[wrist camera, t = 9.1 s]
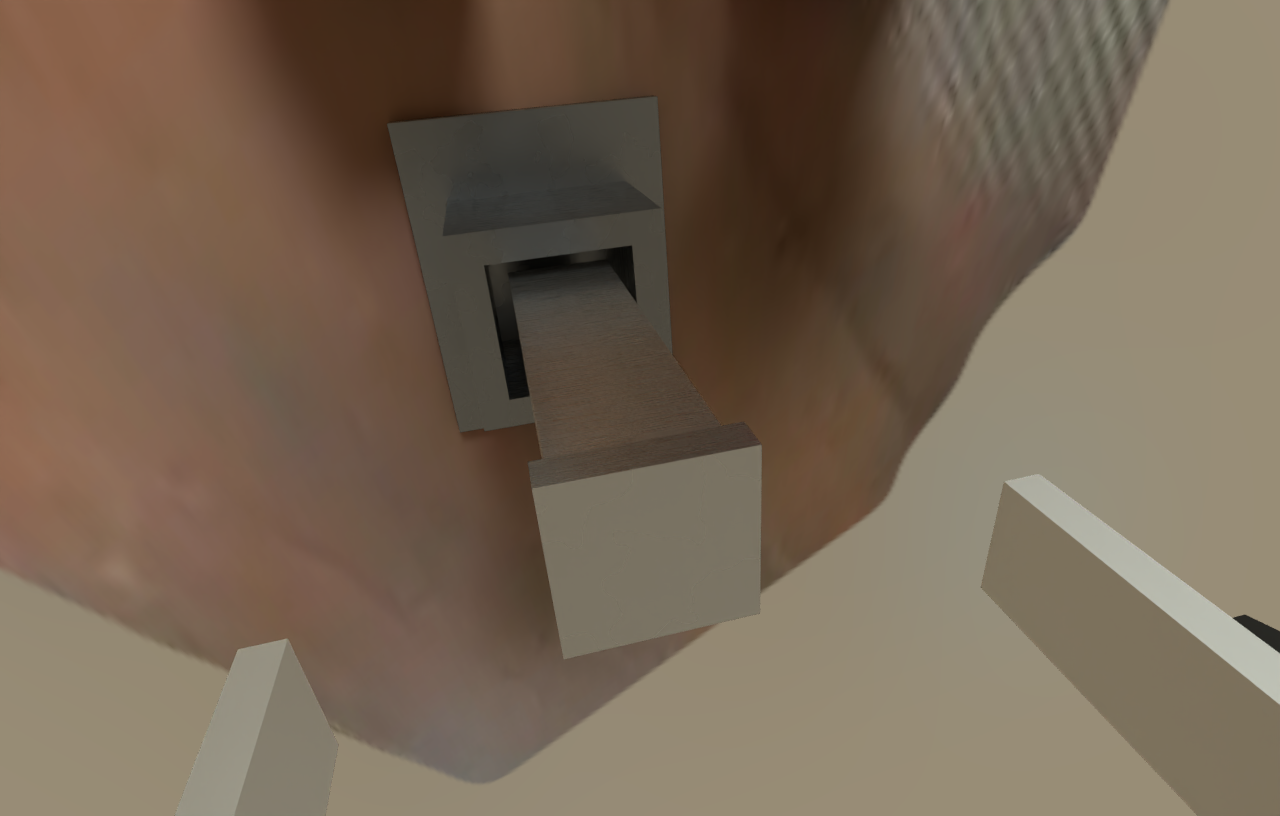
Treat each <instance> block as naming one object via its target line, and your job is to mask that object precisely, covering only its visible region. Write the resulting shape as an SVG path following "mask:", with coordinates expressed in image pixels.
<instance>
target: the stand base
mask: <svg viewBox="0 0 1280 816" xmlns="http://www.w3.org/2000/svg"><path fill="white" fill-rule="evenodd" d="M387 126H388V130H389V134H390V138H391V143H392V147H393V151H394V155H395V160H396V164H397V168H398V172H399V177H400V181H401V185H402V189H403V193H404V198H405V202H406V206H407V210H408V215H409V219H410V223H411V227H412V231H413V236H414V240H415V244H416V248H417V253H418V257H419V261H420V265H421V270H422V274H423V278H424V282H425V286H426V291H427V295H428V299H429V303H430V308H431V312H432V316H433V320H434V325H435V329H436V333H437V337H438V341H439V346H440V350H441V354H442V358H443V363H444V367H445V371H446V375H447V380H448V384H449V388H450V392H451V396H452V401H453V405H454V409H455V413H456V418H457V422H458V426H459V430H460V432H465V431H471V430H477V429H483V428H484V431H489V430H495V429H501V428H507V427H512V426H518V425H524V424H529V423H535V421H534V416H533V410H532V405H531V400H530V394H529V389H528V383H527V378H526V373H525V367H524V362H523V356H522V351H521V345H520V339H519V333H518V328H517V322H516V316H515V310H514V305H513V299H512V293H511V287H510V282H509V276H508V273H510V272H517V271H524V270H531V269H538V268H546V267H553V266H560V265H567V264H574V263H582V262H589V261H596V260H603V259H606V260H607V261H608V263H609V264H610V266H611V267H612V268H613V270H614V271H615V273H616V274H617V276H618V277H619V279H620V280H621V281H622V283H623V284H624V286H625V287H626V289H627V290H628V292H629V293H630V294H631V296H632V297H633V299H634V300H635V302H636V303H637V305H638V306H639V307H640V309H641V310H642V312H643V313H644V315H645V316H646V318H647V319H648V320H649V322H650V323H651V325H652V326H653V328H654V329H655V331H656V332H657V333H658V335H659V336H660V338H661V339H662V341H663V342H664V344H665V345H666V346H667V348H668V349H669V351H670V352H671V354H672V337H671V320H670V303H669V286H668V269H667V252H666V235H665V218H664V201H663V184H662V167H661V150H660V133H659V116H658V99H657V96H643V97H633V98H623V99H613V100H603V101H593V102H584V103H574V104H564V105H554V106H544V107H534V108H524V109H514V110H504V111H494V112H484V113H474V114H464V115H454V116H444V117H434V118H425V119H415V120H405V121H395V122H388V123H387ZM672 355H673V354H672Z"/></svg>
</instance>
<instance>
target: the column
mask: <svg viewBox="0 0 1280 816" xmlns="http://www.w3.org/2000/svg"><path fill="white" fill-rule="evenodd" d="M508 276H509V282H510V287H511V293H512V299H513V305H514V310H515V316H516V322H517V328H518V333H519V339H520V345H521V351H522V356H523V362H524V367H525V373H526V378H527V383H528V389H529V394H530V400H531V405H532V410H533V416H534V421H535V426H536V432H537V437H538V442H539V448H540V453H541V458H542V459H539V460H534V461H529V462H528V467H529V474H530V480H531V487H532V493H533V498H534V503H535V509H536V514H537V520H538V525H539V530H540V536H541V541H542V546H543V552H544V557H545V563H546V568H547V573H548V579H549V584H550V589H551V595H552V600H553V605H554V611H555V616H556V622H557V627H558V632H559V638H560V643H561V648H562V654H563V659H568V658H572V657H576V656H581V655H585V654H589V653H594V652H598V651H602V650H606V649H611V648H615V647H619V646H623V645H628V644H632V643H636V642H641V641H645V640H649V639H653V638H658V637H662V636H666V635H670V634H675V633H679V632H683V631H688V630H692V629H696V628H700V627H705V626H709V625H713V624H717V623H722V622H726V621H730V620H735V619H739V618H743V617H747V616H751V615H756V614H760V568H761V474H762V444H761V443H760V442H759V440H758V439H757V438H756V436H755V435H754V434H753V433H752V431H751V430H750V429H749V427H748V426H747V425H746V423H745V422H740V423H734V424H729V425H723V426H721V424H720V423H719V422H718V420H717V419H716V417H715V416H714V414H713V413H712V411H711V410H710V409H709V407H708V406H707V404H706V403H705V401H704V400H703V398H702V397H701V396H700V394H699V393H698V391H697V390H696V388H695V387H694V385H693V384H692V383H691V381H690V380H689V378H688V377H687V375H686V374H685V372H684V371H683V370H682V368H681V367H680V365H679V364H678V362H677V361H676V359H675V358H674V357H673V355H672V354H671V352H670V351H669V349H668V348H667V346H666V345H665V344H664V342H663V341H662V339H661V338H660V336H659V335H658V333H657V332H656V331H655V329H654V328H653V326H652V325H651V323H650V322H649V320H648V319H647V318H646V316H645V315H644V313H643V312H642V310H641V309H640V307H639V306H638V305H637V303H636V302H635V300H634V299H633V297H632V296H631V294H630V293H629V292H628V290H627V289H626V287H625V286H624V284H623V283H622V281H621V280H620V279H619V277H618V276H617V274H616V273H615V271H614V270H613V268H612V267H611V266H610V264H609V263H608V261H607V260H606V259H603V260H596V261H589V262H582V263H574V264H567V265H560V266H553V267H546V268H538V269H531V270H524V271H517V272H510V273H508Z"/></svg>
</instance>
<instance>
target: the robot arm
mask: <svg viewBox="0 0 1280 816" xmlns="http://www.w3.org/2000/svg"><path fill="white" fill-rule="evenodd" d="M981 588H982V589H983V590H984V591H985V592H986V594H988V596H989V597H990V598H991V599H992V600H993V601H994V602H995V603H996V604H997V605H998V606H999V607H1000V608H1001V609H1002V610H1003V611H1004V612H1005V613H1006V615H1007V616H1008V617H1009V618H1010V619H1011V620H1012V621H1013V622H1014V623H1015V624H1016V625H1017V626H1018V627H1019V628H1020V629H1021V630H1022V631H1023V632H1024V634H1025V635H1026V636H1027V637H1028V638H1029V639H1030V640H1031V641H1032V642H1033V643H1034V644H1035V645H1036V646H1037V647H1038V648H1039V649H1040V650H1041V651H1042V652H1043V654H1044V655H1046V657H1047V658H1048V659H1049V660H1050V661H1051V662H1052V663H1053V664H1054V665H1055V666H1056V667H1057V668H1058V669H1059V670H1060V671H1061V672H1062V674H1063V675H1065V677H1066V678H1067V679H1068V680H1069V681H1070V682H1071V683H1072V684H1073V685H1074V686H1075V687H1076V688H1077V689H1078V690H1079V691H1080V692H1081V694H1082V695H1083V696H1085V698H1086V699H1087V700H1088V701H1089V702H1090V703H1091V704H1092V705H1093V706H1094V707H1095V708H1096V709H1097V710H1098V711H1099V712H1100V714H1101V715H1102V716H1103V717H1104V718H1105V719H1106V720H1107V721H1108V722H1109V723H1110V724H1111V725H1112V726H1113V727H1114V728H1115V729H1116V730H1117V731H1118V732H1119V734H1120V735H1121V736H1122V737H1123V738H1124V739H1125V740H1126V741H1127V742H1128V743H1129V744H1130V745H1131V746H1132V747H1133V748H1134V749H1135V750H1136V751H1137V752H1138V753H1139V755H1141V757H1142V758H1143V759H1144V760H1145V761H1146V762H1147V763H1148V764H1149V765H1150V766H1151V767H1152V768H1153V769H1154V770H1155V771H1156V772H1157V773H1158V775H1159V776H1160V777H1161V778H1162V779H1163V780H1164V781H1165V782H1166V783H1167V784H1168V785H1169V786H1170V787H1171V788H1172V789H1173V790H1174V791H1175V792H1176V793H1177V795H1178V796H1179V797H1180V798H1181V799H1182V800H1183V801H1184V802H1185V803H1186V804H1187V805H1188V806H1189V807H1190V808H1191V809H1192V810H1193V811H1194V812H1195V813H1196V815H1197V816H1280V631H1278V630H1276V629H1274V628H1272V627H1270V626H1268V625H1265V624H1264V623H1261V622H1259V621H1257V620H1255V619H1253V618H1251V617H1249V616H1247V615H1242V616H1238V617H1234V618H1231V617H1230V616H1229V615H1227V614H1226V613H1225V612H1223V611H1222V610H1221V609H1219V608H1218V607H1217V606H1215V605H1214V604H1213V603H1211V602H1210V601H1209V600H1207V599H1206V598H1204V597H1203V596H1202V595H1200V594H1199V593H1198V592H1197V591H1195V590H1194V589H1193V588H1191V587H1190V586H1188V585H1187V584H1186V583H1185V582H1183V581H1182V580H1181V579H1179V578H1178V577H1177V576H1175V575H1174V574H1172V573H1171V572H1170V571H1168V570H1167V569H1166V568H1164V567H1163V566H1162V565H1160V564H1159V563H1157V562H1156V561H1155V560H1154V559H1152V558H1151V557H1150V556H1148V555H1147V554H1146V553H1144V552H1143V551H1142V550H1140V549H1139V548H1138V547H1136V546H1135V545H1134V544H1132V543H1131V542H1129V541H1128V540H1127V539H1125V538H1124V537H1123V536H1122V535H1120V534H1119V533H1118V532H1116V531H1115V530H1114V529H1112V528H1111V527H1109V526H1108V525H1107V524H1105V523H1104V522H1103V521H1101V520H1100V519H1099V518H1097V517H1096V516H1095V515H1093V514H1092V513H1091V512H1089V511H1088V510H1087V509H1085V508H1084V507H1083V506H1081V505H1080V504H1079V503H1077V502H1076V501H1075V500H1073V499H1072V498H1071V497H1069V496H1068V495H1067V494H1065V493H1064V492H1063V491H1061V490H1060V489H1059V488H1057V487H1056V486H1055V485H1053V484H1052V483H1050V482H1049V481H1048V480H1047V479H1045V478H1044V477H1042V476H1041V475H1040V474H1036V475H1032V476H1027V477H1023V478H1018V479H1014V480H1009V481H1005V482H1004V484H1003V489H1002V493H1001V498H1000V502H999V507H998V512H997V516H996V521H995V525H994V530H993V534H992V539H991V543H990V548H989V553H988V557H987V561H986V566H985V570H984V575H983V580H982V585H981ZM337 750H338V743H337V740H336V738H335V736H334V734H333V732H332V730H331V728H330V726H329V724H328V722H327V719H326V717H325V715H324V713H323V711H322V709H321V707H320V705H319V703H318V701H317V699H316V696H315V694H314V692H313V690H312V688H311V686H310V684H309V682H308V680H307V678H306V676H305V673H304V671H303V669H302V667H301V665H300V663H299V661H298V659H297V657H296V655H295V653H294V650H293V648H292V646H291V644H290V642H289V640H288V639H283V640H279V641H274V642H270V643H265V644H261V645H256V646H251V647H247V648H242V649H238V650H237V653H236V656H235V658H234V661H233V663H232V666H231V669H230V671H229V674H228V677H227V679H226V682H225V685H224V687H223V690H222V692H221V695H220V698H219V700H218V703H217V706H216V708H215V711H214V713H213V716H212V719H211V721H210V724H209V726H208V729H207V732H206V734H205V737H204V740H203V742H202V745H201V747H200V750H199V753H198V756H197V758H196V761H195V763H194V766H193V768H192V771H191V774H190V776H189V779H188V781H187V784H186V787H185V790H184V792H183V795H182V797H181V800H180V803H179V805H178V808H177V810H176V813H175V816H325V815H326V810H327V805H328V799H329V794H330V788H331V783H332V777H333V772H334V767H335V761H336V756H337Z"/></svg>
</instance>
